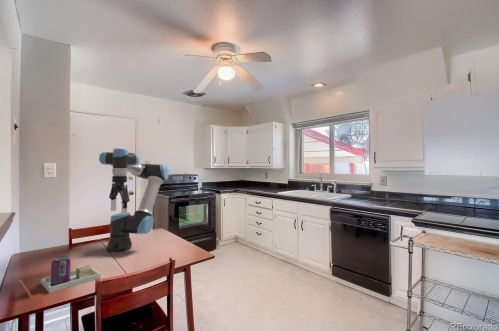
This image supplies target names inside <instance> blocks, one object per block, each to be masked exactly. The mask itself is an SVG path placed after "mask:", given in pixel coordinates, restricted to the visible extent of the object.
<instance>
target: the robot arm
mask: <svg viewBox="0 0 499 331" xmlns="http://www.w3.org/2000/svg"><path fill="white" fill-rule="evenodd" d="M98 161H99V163H100V164H101V165H105V166H106V165H109V166H112V170H111V171H112V177H111V179H112V180H111V182H112V184H111V188H110V192H109V196H108V199H110V212H115V211H117V200H118V195H120V197H121V198H120V199H121V209H120V210H121V212H120V213H114V214H112V215H111V216H110V221H109V224H110V225H109V238H108V242H107V244H106V251H108V252H113V253H114V252H115V253H116V252H118V253H119V252H124V251H127V250H130V249H132V248H133V243H132V240H131V237H130V234H137V235H138V234H139V235H148V233H150V232H151V231H152V229H153V226H154V222H155V220H154V217H153V214H152V211H153V208H154V206H155V202H156V199H157V196H158V192H159V191H160V187H161V185H162V184H163V185H164V181H167V180H168V179H169V176H170V175H169V174H170V173H169V167H168V166H167V165H165V164H156V163H153V164H152V163H151V164H150V163H140V156H139V155H138V154H137V153H134V152H129V151H128V149H127V148H118V147H117V148H114V149H113V151H112V152H111V151H110V152H108V151H107V152H106V151H105V152H104V151H103V152H101V153H100V154H99V158H98ZM128 173H130V174H131V175H133V176H134V177H137V178H139V179H143V180H147V181H148V182H147V184H146V188H145V189H144V193H143V195H142V198H141V201H140V204H139V207H138V209H137V210H135V211H134V213H133V215H131V212H128V203H130V195H129V191H128V184H125V183H127V182H128V176H127V175H128ZM131 247H132V248H131Z"/></svg>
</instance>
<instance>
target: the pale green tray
mask: <svg viewBox="0 0 499 331" xmlns="http://www.w3.org/2000/svg"><path fill="white" fill-rule="evenodd" d="M98 277H100V278H101V273H100V272H99V271H97V270H96V269H95V268H93V267H92V269H91V276H88V277H84V278H81V279H77V278H76V269H74V270H70V281H69V282H67V283H63V284H60V285H56V286H52V285H51V275H50V276H46V277H43V278H41V285H42V287H44V288H45V290H46V291H47V292H48V294H52V293H54V292H58V291H61V290H65V289H68V288H71V287H74V286H78V285H82V284H85V283H89V282H91V281H95V279H96V278H98ZM96 280H97V279H96Z"/></svg>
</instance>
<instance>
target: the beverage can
mask: <svg viewBox="0 0 499 331" xmlns="http://www.w3.org/2000/svg"><path fill="white" fill-rule="evenodd" d="M70 271H71V259H70V256H69V255H60V256H55V257H53V258H52V261H51V265H50V276H51V285H52V286H56V285H60V284H63V283H67V282H69V281H70Z"/></svg>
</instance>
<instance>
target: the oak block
mask: <svg viewBox="0 0 499 331" xmlns="http://www.w3.org/2000/svg"><path fill="white" fill-rule="evenodd" d="M92 268H93V267H92V266H91V265H89V264H88V263H87V264H83V265H80V266H77V267H75V270H76V278H77V279H81V278H84V277H88V276H91V269H92Z"/></svg>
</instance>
